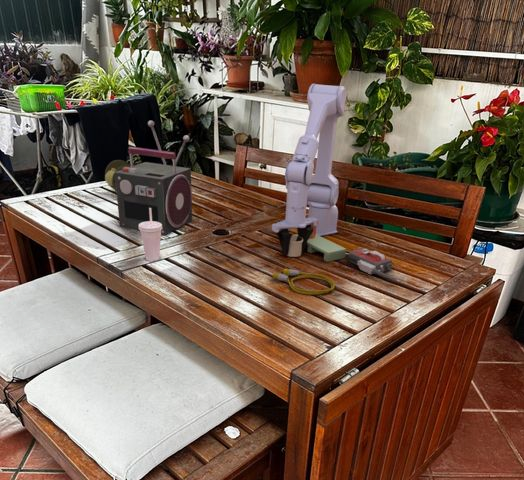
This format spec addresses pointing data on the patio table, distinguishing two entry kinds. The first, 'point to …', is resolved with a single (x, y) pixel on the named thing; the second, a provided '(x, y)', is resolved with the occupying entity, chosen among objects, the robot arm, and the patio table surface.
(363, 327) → the patio table surface
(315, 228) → the terracotta pot
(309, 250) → the sage green baseplate
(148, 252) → the smoothie
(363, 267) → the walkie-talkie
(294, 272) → the extension cord
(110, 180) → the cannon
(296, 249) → the cream pot
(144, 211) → the boombox
